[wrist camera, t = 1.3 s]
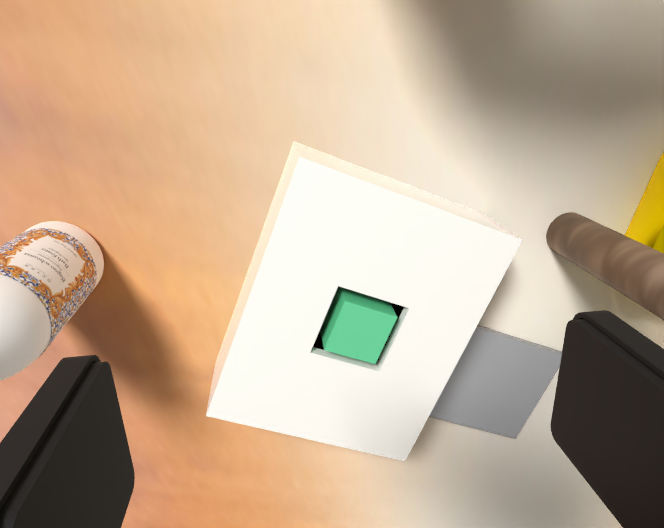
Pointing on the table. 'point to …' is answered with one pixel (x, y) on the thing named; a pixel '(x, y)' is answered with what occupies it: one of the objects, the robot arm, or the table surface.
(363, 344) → the breaker button
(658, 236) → the element tile
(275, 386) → the box
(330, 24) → the table surface
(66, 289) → the bath foam
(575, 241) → the dowel
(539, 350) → the rubber mat
